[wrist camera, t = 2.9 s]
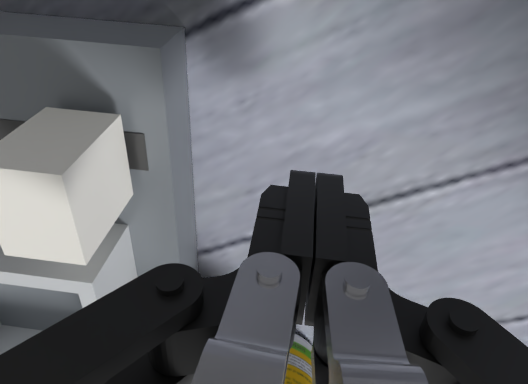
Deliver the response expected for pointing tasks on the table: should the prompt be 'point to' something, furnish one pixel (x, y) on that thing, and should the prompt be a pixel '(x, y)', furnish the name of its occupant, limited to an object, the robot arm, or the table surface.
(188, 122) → the breaker panel
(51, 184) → the breaker handle
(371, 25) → the table surface
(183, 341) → the robot arm
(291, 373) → the supplement bottle
